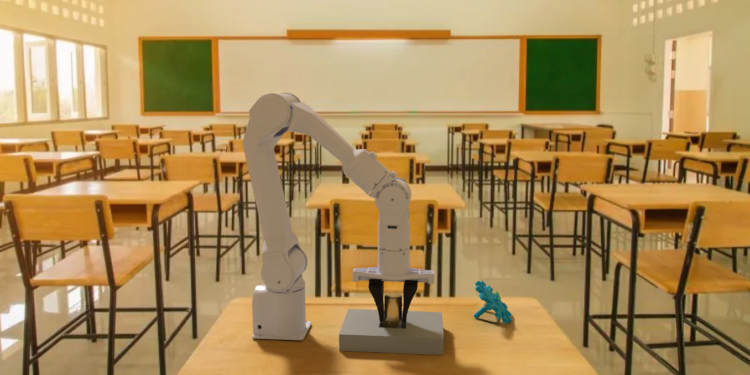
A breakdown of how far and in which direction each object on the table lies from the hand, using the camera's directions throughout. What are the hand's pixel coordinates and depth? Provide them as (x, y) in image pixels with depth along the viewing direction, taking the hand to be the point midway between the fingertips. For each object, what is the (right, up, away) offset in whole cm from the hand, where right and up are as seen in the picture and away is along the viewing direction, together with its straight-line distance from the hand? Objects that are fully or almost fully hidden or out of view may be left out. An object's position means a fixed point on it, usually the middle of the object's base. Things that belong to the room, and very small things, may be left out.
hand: (393, 319), depth 107 cm
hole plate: (0, -4, +1) cm, 4 cm away
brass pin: (0, -3, 0) cm, 3 cm away
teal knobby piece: (+20, -2, +10) cm, 23 cm away
